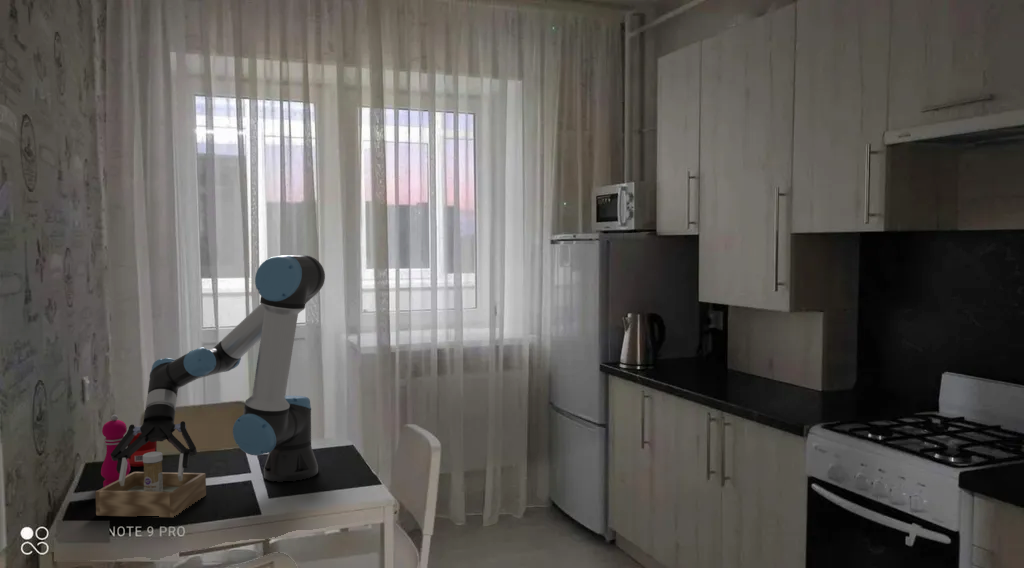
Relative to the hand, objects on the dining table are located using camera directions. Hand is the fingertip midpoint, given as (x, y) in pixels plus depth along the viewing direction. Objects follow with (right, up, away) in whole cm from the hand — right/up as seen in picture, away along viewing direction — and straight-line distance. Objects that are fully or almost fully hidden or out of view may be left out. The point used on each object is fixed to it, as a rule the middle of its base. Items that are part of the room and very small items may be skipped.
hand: (150, 481), depth 185 cm
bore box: (-1, -7, +2) cm, 7 cm away
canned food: (-22, -5, +39) cm, 45 cm away
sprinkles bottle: (0, -7, +2) cm, 7 cm away
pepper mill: (-18, -6, +18) cm, 26 cm away
